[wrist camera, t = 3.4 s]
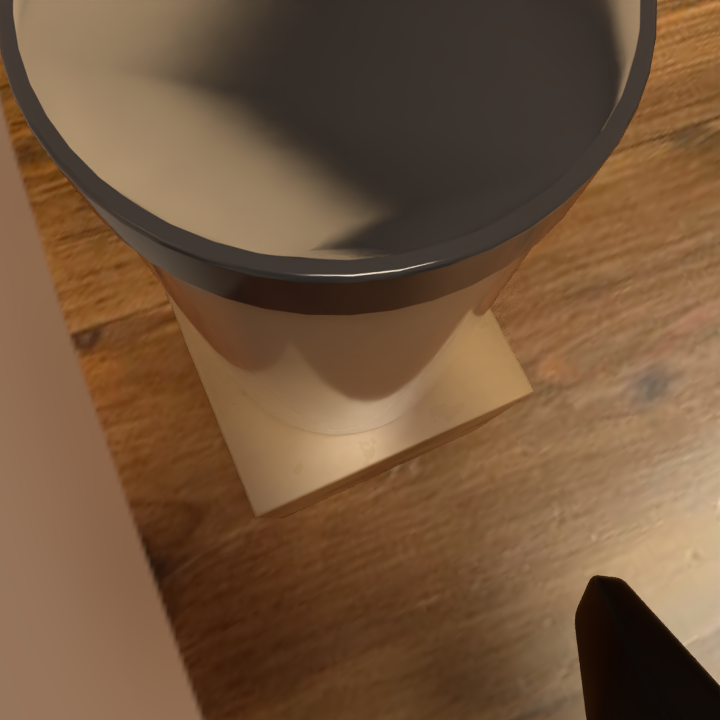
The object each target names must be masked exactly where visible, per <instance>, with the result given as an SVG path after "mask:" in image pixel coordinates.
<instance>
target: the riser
mask: <svg viewBox="0 0 720 720" xmlns="http://www.w3.org/2000/svg"><path fill="white" fill-rule="evenodd" d="M165 292H166V294H167V297H168V299H169V302H170V304H171V307H172V309H173V312H174V314H175V317H176V319H177V322H178V325H179V327H180V330H181V332H182V335H183V337H184V340H185V342H186V345H187V347H188V350H189V352H190V355H191V357H192V360H193V362H194V365H195V367H196V370H197V372H198V375H199V377H200V380H201V382H202V385H203V387H204V390H205V392H206V395H207V397H208V400H209V402H210V405H211V407H212V410H213V413H214V415H215V418H216V420H217V423H218V425H219V428H220V430H221V433H222V435H223V438H224V440H225V443H226V445H227V448H228V450H229V453H230V455H231V458H232V460H233V463H234V465H235V468H236V470H237V473H238V475H239V478H240V480H241V483H242V485H243V488H244V490H245V493H246V495H247V498H248V501H249V503H250V506H251V508H252V511H253V513H254V516H255V517H256V518H284V517H286V516H288V515H290V514H293V513H295V512H297V511H299V510H301V509H304V508H306V507H308V506H310V505H312V504H315V503H317V502H319V501H321V500H323V499H325V498H328V497H330V496H332V495H334V494H336V493H339V492H341V491H343V490H345V489H347V488H350V487H352V486H354V485H356V484H358V483H360V482H363V481H365V480H367V479H369V478H371V477H374V476H376V475H378V474H380V473H382V472H385V471H387V470H389V469H391V468H393V467H395V466H398V465H400V464H402V463H404V462H406V461H409V460H411V459H413V458H415V457H417V456H419V455H422V454H424V453H426V452H428V451H430V450H433V449H435V448H437V447H439V446H441V445H444V444H446V443H448V442H450V441H452V440H454V439H457V438H459V437H461V436H463V435H465V434H468V433H470V432H472V431H474V430H476V429H478V428H480V427H481V426H483V425H484V424H486V423H487V422H489V421H490V420H492V419H493V418H495V417H496V416H498V415H499V414H501V413H503V412H504V411H506V410H507V409H509V408H510V407H512V406H513V405H515V404H516V403H518V402H519V401H521V400H522V399H524V398H525V397H527V396H528V395H530V394H532V393H533V389H532V387H531V385H530V383H529V381H528V379H527V377H526V375H525V373H524V371H523V369H522V368H521V366H520V364H519V362H518V360H517V358H516V356H515V354H514V352H513V350H512V349H511V347H510V345H509V343H508V341H507V339H506V337H505V335H504V333H503V331H502V329H501V328H500V326H499V324H498V322H497V320H496V318H495V316H494V314H493V312H492V310H491V309H490V308H489V310H488V311H487V312H486V314H485V315H484V317H483V318H482V319H481V321H480V322H479V324H478V325H477V327H476V328H475V329H474V331H473V332H472V334H471V335H470V336H469V338H468V339H467V341H466V342H465V343H464V345H463V346H462V348H461V349H460V351H459V352H458V353H457V355H456V356H455V358H454V359H453V360H452V362H451V363H450V365H449V366H448V368H447V369H446V370H445V372H444V373H443V375H442V376H441V377H440V379H439V380H438V382H437V383H436V384H435V386H434V387H433V388H432V390H431V391H430V392H429V394H428V395H427V396H426V397H425V398H424V399H423V400H422V401H421V402H420V403H419V404H418V405H417V406H415V407H414V408H413V409H412V410H410V411H409V412H408V413H406V414H405V415H403V416H402V417H400V418H398V419H396V420H395V421H393V422H391V423H389V424H386V425H384V426H382V427H379V428H377V429H373V430H369V431H366V432H362V433H355V434H347V435H326V434H319V433H312V432H308V431H304V430H301V429H297V428H294V427H292V426H290V425H287V424H285V423H283V422H281V421H279V420H277V419H275V418H274V417H272V416H270V415H269V414H267V413H266V412H265V411H263V410H262V409H261V408H260V407H258V406H257V405H256V404H255V403H254V402H253V401H252V400H251V399H250V398H249V397H248V396H247V395H246V394H245V393H244V392H243V390H242V389H241V388H240V387H239V385H238V384H237V383H236V381H235V380H234V379H233V377H232V376H231V375H230V373H229V372H228V371H227V370H226V368H225V367H224V366H223V364H222V363H221V362H220V360H219V359H218V358H217V357H216V355H215V354H214V353H213V351H212V350H211V349H210V347H209V346H208V345H207V343H206V342H205V341H204V340H203V338H202V337H201V336H200V334H199V333H198V332H197V330H196V329H195V328H194V327H193V325H192V324H191V323H190V321H189V320H188V319H187V317H186V316H185V315H184V313H183V312H182V311H181V310H180V308H179V307H178V306H177V304H176V303H175V302H174V300H173V299H172V298H171V297H170V295H169V294H168V293H167V291H166V290H165Z"/></svg>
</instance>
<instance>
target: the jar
mask: <svg viewBox="0 0 720 720" xmlns="http://www.w3.org/2000/svg"><path fill="white" fill-rule="evenodd" d="M656 14H657V0H0V52H1V59H2V62H3V66H4V69H5V72H6V75H7V78H8V81H9V84H10V87H11V90H12V94H13V96H14V98H15V100H16V102H17V104H18V106H19V108H20V110H21V112H22V114H23V116H24V118H25V120H26V122H27V124H28V126H29V128H30V130H31V132H32V133H33V135H34V136H35V137H36V139H37V140H38V141H39V143H40V144H41V146H42V147H43V148H44V150H45V151H46V152H47V154H48V155H49V157H50V158H51V159H52V161H53V162H54V164H55V165H56V166H57V167H58V169H59V170H60V171H61V172H62V174H63V175H64V176H65V177H66V179H67V180H68V181H69V182H70V184H71V185H72V186H73V187H74V189H75V190H76V191H77V192H78V193H79V195H80V196H81V197H82V198H83V200H84V201H85V202H86V203H87V205H88V206H89V207H90V208H91V210H92V211H93V212H94V213H95V214H96V215H97V216H98V217H99V218H100V219H101V220H102V221H103V222H104V223H105V224H106V225H107V226H108V227H109V228H110V229H111V230H112V231H113V232H114V233H115V234H116V235H117V236H118V237H119V238H120V239H121V240H122V241H124V242H125V243H126V244H128V245H129V246H130V247H131V248H133V249H134V250H135V251H136V252H137V254H138V255H139V256H140V257H141V259H142V260H143V261H144V263H145V264H146V265H147V267H148V268H149V269H150V270H151V272H152V273H153V274H154V276H155V277H156V278H157V280H158V281H159V282H160V284H161V285H162V286H163V287H164V289H165V290H166V291H167V293H168V294H169V295H170V297H171V298H172V299H173V300H174V302H175V303H176V304H177V306H178V307H179V308H180V310H181V311H182V312H183V313H184V315H185V316H186V317H187V319H188V320H189V321H190V323H191V324H192V325H193V327H194V328H195V329H196V330H197V332H198V333H199V334H200V336H201V337H202V338H203V340H204V341H205V342H206V343H207V345H208V346H209V347H210V349H211V350H212V351H213V353H214V354H215V355H216V357H217V358H218V359H219V360H220V362H221V363H222V364H223V366H224V367H225V368H226V370H227V371H228V372H229V373H230V375H231V376H232V377H233V379H234V380H235V381H236V383H237V384H238V385H239V387H240V388H241V389H242V390H243V392H244V393H245V394H246V395H247V396H248V397H249V398H250V399H251V400H252V401H253V402H254V403H255V404H256V405H257V406H258V407H260V408H261V409H262V410H263V411H265V412H266V413H267V414H269V415H270V416H272V417H274V418H275V419H277V420H279V421H281V422H283V423H285V424H287V425H290V426H292V427H294V428H297V429H301V430H304V431H308V432H312V433H319V434H326V435H347V434H355V433H362V432H366V431H369V430H373V429H377V428H379V427H382V426H384V425H386V424H389V423H391V422H393V421H395V420H396V419H398V418H400V417H402V416H403V415H405V414H406V413H408V412H409V411H410V410H412V409H413V408H414V407H415V406H417V405H418V404H419V403H420V402H421V401H422V400H423V399H424V398H425V397H426V396H427V395H428V394H429V392H430V391H431V390H432V388H433V387H434V386H435V384H436V383H437V382H438V380H439V379H440V377H441V376H442V375H443V373H444V372H445V370H446V369H447V368H448V366H449V365H450V363H451V362H452V360H453V359H454V358H455V356H456V355H457V353H458V352H459V351H460V349H461V348H462V346H463V345H464V343H465V342H466V341H467V339H468V338H469V336H470V335H471V334H472V332H473V331H474V329H475V328H476V327H477V325H478V324H479V322H480V321H481V319H482V318H483V317H484V315H485V314H486V312H487V311H488V310H489V308H490V307H491V305H492V304H493V302H494V301H495V300H496V298H497V297H498V295H499V294H500V293H501V291H502V290H503V288H504V287H505V285H506V284H507V283H508V281H509V280H510V278H511V277H512V276H513V274H514V273H515V271H516V270H517V269H518V267H519V266H520V264H521V263H522V261H523V260H524V259H525V257H526V256H527V254H528V253H529V252H530V250H531V249H532V247H534V246H535V245H536V244H537V243H538V242H539V241H540V240H541V239H542V238H543V237H544V236H545V235H547V234H548V233H549V232H550V231H551V230H552V229H553V228H554V227H555V226H556V225H557V224H558V223H559V222H560V221H561V220H562V219H563V218H564V216H565V215H566V214H567V212H568V211H569V210H570V208H571V207H572V206H573V204H574V203H575V202H576V200H577V199H578V198H579V196H580V195H581V194H582V193H583V191H584V190H585V189H586V187H587V186H588V184H589V183H590V182H591V180H592V179H593V178H594V176H595V175H596V174H597V172H598V171H599V170H600V168H601V167H602V166H603V164H604V163H605V162H606V160H607V159H608V157H609V156H610V155H611V153H612V152H613V151H614V149H615V148H616V147H617V145H618V144H619V143H620V141H621V139H622V137H623V135H624V133H625V131H626V130H627V128H628V126H629V124H630V122H631V120H632V118H633V116H634V115H635V113H636V111H637V109H638V106H639V103H640V100H641V97H642V95H643V92H644V89H645V86H646V83H647V80H648V77H649V74H650V69H651V63H652V58H653V52H654V46H655V40H656Z"/></svg>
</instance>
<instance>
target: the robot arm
mask: <svg viewBox="0 0 720 720" xmlns="http://www.w3.org/2000/svg"><path fill="white" fill-rule="evenodd" d="M575 630H576V638H577V646H578V654H579V663H580V671H581V679H582V687H583V695H584V703H585V711H586V719H587V720H720V685H719V684H718V683H717V682H716V681H715V680H714V679H713V678H712V677H711V675H710V674H709V673H708V672H707V671H706V670H705V669H704V668H703V667H702V666H701V664H700V663H699V662H698V661H697V660H696V659H695V658H694V657H693V656H692V655H691V653H690V652H689V651H688V650H687V649H686V648H685V647H684V646H683V645H682V644H681V642H680V641H679V640H678V639H677V638H676V637H675V636H674V635H673V634H672V633H671V631H670V630H669V629H668V628H667V627H666V626H665V625H664V624H663V623H662V622H661V620H660V619H659V618H658V617H657V616H656V615H655V614H654V613H653V612H652V611H651V609H650V608H649V607H648V606H647V605H646V604H645V603H644V602H643V601H642V600H641V598H640V597H639V596H638V595H637V594H636V593H635V592H634V591H633V590H632V589H631V587H630V586H629V585H628V584H627V583H626V582H625V581H623V580H622V579H620V578H616V577H608V576H599V575H596V576H593V577H592V578H591V579H590V581H589V583H588V585H587V587H586V589H585V592H584V594H583V596H582V599H581V601H580V603H579V605H578V608H577V611H576V615H575Z"/></svg>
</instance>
